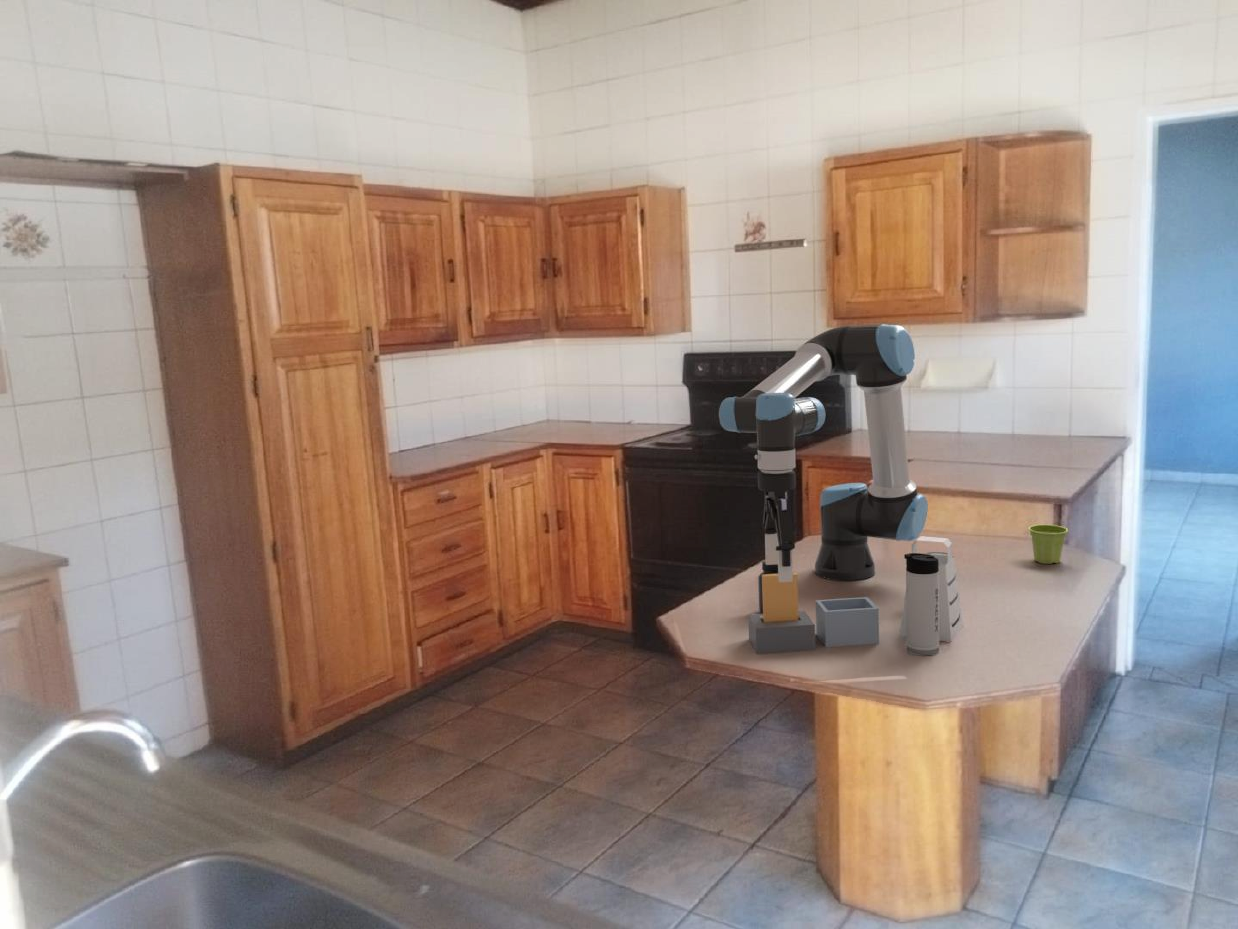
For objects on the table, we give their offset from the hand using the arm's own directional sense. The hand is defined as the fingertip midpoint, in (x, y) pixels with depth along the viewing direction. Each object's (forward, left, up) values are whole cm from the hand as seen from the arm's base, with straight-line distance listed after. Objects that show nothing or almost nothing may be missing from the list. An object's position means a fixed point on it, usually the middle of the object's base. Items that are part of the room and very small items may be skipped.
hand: (778, 572), depth 199 cm
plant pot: (-50, +80, -16) cm, 96 cm away
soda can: (-20, +40, -16) cm, 48 cm away
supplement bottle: (-23, +3, -16) cm, 29 cm away
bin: (-1, +14, -16) cm, 21 cm away
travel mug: (+7, +27, -16) cm, 32 cm away
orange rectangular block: (0, 0, -15) cm, 15 cm away
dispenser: (0, 0, -16) cm, 16 cm away
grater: (-4, +33, -16) cm, 37 cm away
